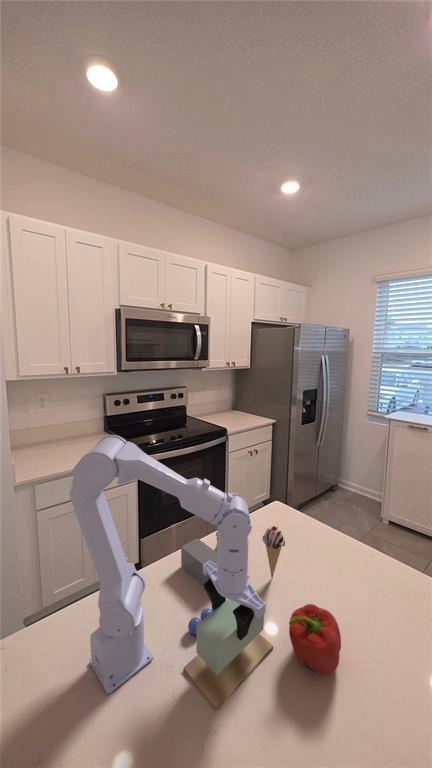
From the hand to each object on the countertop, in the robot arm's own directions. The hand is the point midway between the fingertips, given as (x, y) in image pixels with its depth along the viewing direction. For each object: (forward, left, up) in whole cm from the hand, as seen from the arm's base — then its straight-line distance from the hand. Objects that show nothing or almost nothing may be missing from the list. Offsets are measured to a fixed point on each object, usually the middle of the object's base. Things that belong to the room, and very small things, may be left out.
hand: (230, 624), depth 61 cm
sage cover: (0, 0, -4) cm, 4 cm away
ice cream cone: (+23, +7, -8) cm, 25 cm away
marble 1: (-1, +9, -8) cm, 12 cm away
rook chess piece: (+19, +22, -8) cm, 30 cm away
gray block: (+11, +20, -8) cm, 24 cm away
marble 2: (+2, +9, -8) cm, 12 cm away
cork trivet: (0, 0, -8) cm, 8 cm away
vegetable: (+12, -11, -8) cm, 18 cm away
